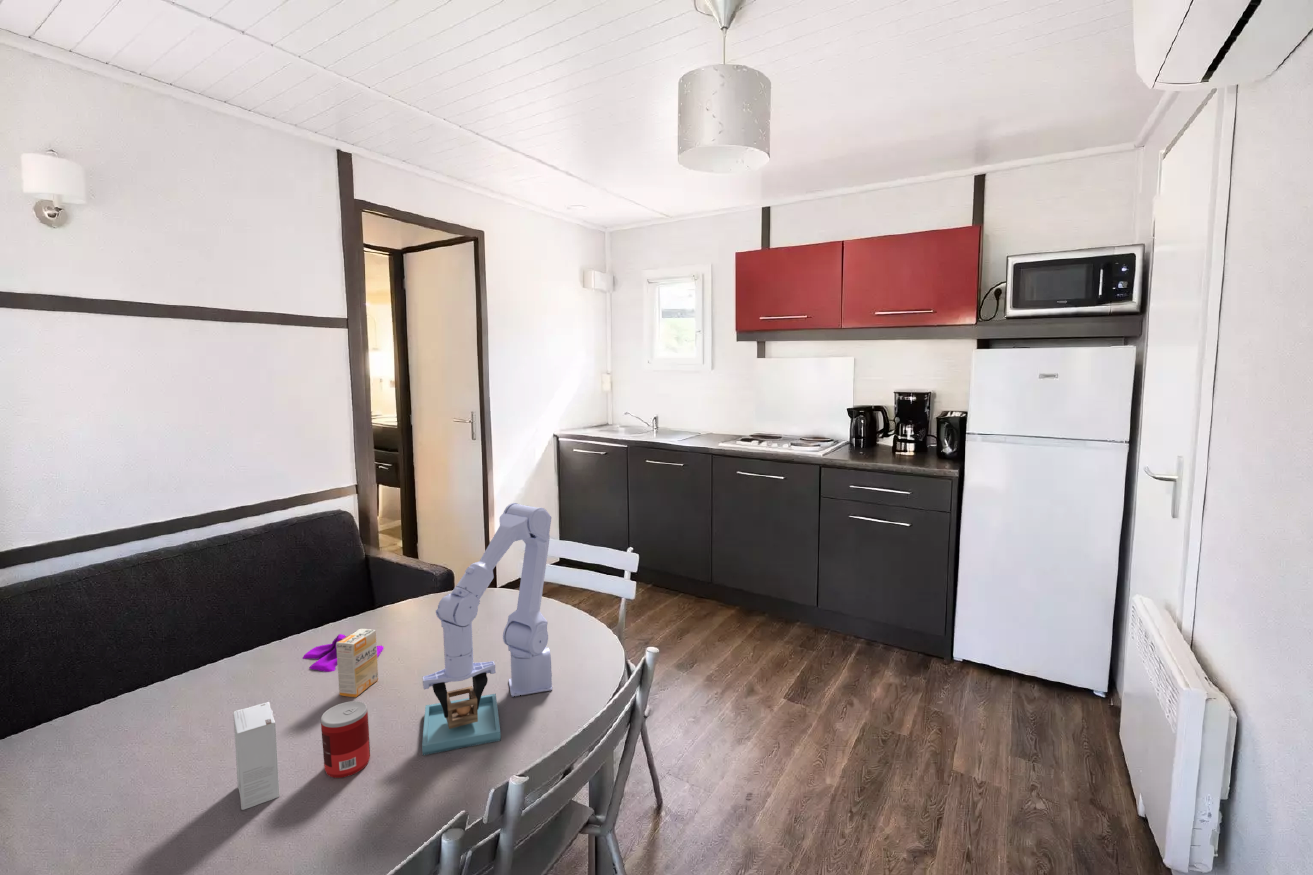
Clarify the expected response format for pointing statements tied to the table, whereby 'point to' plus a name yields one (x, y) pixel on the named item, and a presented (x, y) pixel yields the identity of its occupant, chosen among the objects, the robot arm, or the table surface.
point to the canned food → (345, 739)
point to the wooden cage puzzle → (453, 716)
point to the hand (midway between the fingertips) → (461, 711)
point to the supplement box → (357, 662)
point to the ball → (463, 710)
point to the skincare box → (256, 755)
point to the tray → (460, 728)
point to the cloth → (328, 655)
